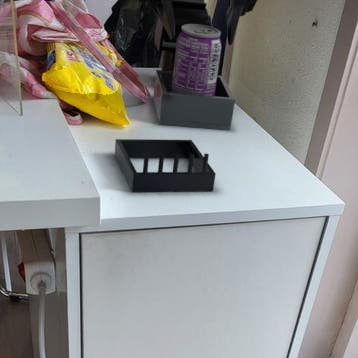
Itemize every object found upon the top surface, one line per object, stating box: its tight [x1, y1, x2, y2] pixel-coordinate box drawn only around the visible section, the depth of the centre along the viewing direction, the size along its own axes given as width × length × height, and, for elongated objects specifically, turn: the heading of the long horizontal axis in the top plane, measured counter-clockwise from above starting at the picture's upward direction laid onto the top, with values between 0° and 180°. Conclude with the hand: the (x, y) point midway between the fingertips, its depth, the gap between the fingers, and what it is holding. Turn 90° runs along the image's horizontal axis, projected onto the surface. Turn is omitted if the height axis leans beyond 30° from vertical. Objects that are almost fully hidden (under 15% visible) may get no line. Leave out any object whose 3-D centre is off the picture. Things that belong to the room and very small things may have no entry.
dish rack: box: [114, 138, 217, 193], centre depth 88 cm, size 11×11×5 cm
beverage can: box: [171, 24, 223, 96], centre depth 104 cm, size 7×7×12 cm
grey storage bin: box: [152, 69, 236, 131], centre depth 107 cm, size 12×12×5 cm
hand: (202, 41), depth 100 cm, fingers open, 9 cm apart
